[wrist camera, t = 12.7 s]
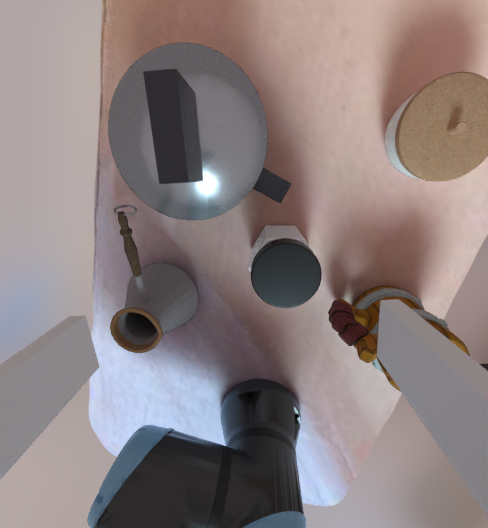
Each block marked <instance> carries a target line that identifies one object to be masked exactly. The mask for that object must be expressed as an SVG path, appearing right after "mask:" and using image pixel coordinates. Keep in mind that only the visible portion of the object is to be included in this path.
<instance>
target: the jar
mask: <svg viewBox="0 0 488 528" xmlns="http://www.w3.org/2000/svg"><path fill="white" fill-rule="evenodd" d="M248 269H249V271H250V273H251V281H252V285H253V288H254V290H255V292H256V293H257V295H258V296H259V297H260V298H261V299H262V300H263V301H265V302H266V303H268V304H270V305H272V306H275V307H280V308H291V307H296V306H299V305H301V304H303V303H305V302H307V301H308V300H309V299H310V298H311V297H312V296H313V295H314V294H315V293H316V291H317V290H318V288H319V285H320V282H321V267H320V263H319V261H318V259H317V258H316V256H315V255H314V253H313V252H312V250H311V249H310V248H309V246H308V244H307V242H306V240H305V239H304V237H303V236H302V234H301V233H300V232H299V230H298V229H297V227H296V226H294V225H266V226H265V227H264V229H263V230H262V232H261V234H260V235H259V237H258V239H257V240H256V242H255V244H254V245H253V247H252V249H251V253H250V260H249V267H248Z"/></svg>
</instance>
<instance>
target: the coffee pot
mask: <svg viewBox="0 0 488 528" xmlns="http://www.w3.org/2000/svg"><path fill="white" fill-rule="evenodd" d="M121 207H131V208H134V209H136V211H134V212H133V213H128V214H124V212H122V211H121V212H116V209H118V208H121ZM114 212H115V213H116V214H118V221H119V224H120V225H121V230H120V234H121V235H122V236H123V237H124V247H125V252H126V255H127V258H128V261H129V263H130V266H131V269H132V272H133V274H134V275H133V276H132V278H131V280H130V282H129V285H128V290H127V297H126V304H125V309H122V310H120V311H119V312H117V313H116V314H115V315H114V316H113V318H112V321H111V326H110V329H111V334H112V336H113V338H114V340H115V341H116V342H117V343H118V345H120V346H121V347H122V348H124V349H126V350H128V351H131V352H135V353H143V352H148V351H150V350H152V349H153V348H155V347H156V346H157V345H158V343H159V342H160V340H161V338H162V336H163V334H164V333H166V332H168V331H171V330H173V329H176V328H178V327H180V326H182V325H184V324H186V323H187V322H188V321H189V320H190V319H191V318H192V317H193V316H194V314H195V312H196V310H197V306H198V301H199V300H198V291H197V289H196V286H195V284H194V282H193V281H192V279H191V278H190V276H189V275H188V274H186V273H185V272H184V271H183V270H182V269H180V268H178V267H176V266H174V265H170V264H166V263H153V264H150V265H146V266H144V267H142V268H141V269H140V263H139V258H138V252H137V248H136V245H135V243H134V241H133V239H132V236H131V234H132V229H131V228H129V227H128V220H127V217H126V215H133V214H135V213H136V212H137V208H136V207H134V206H131V205H122V206H118V207H116V208H114Z"/></svg>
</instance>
